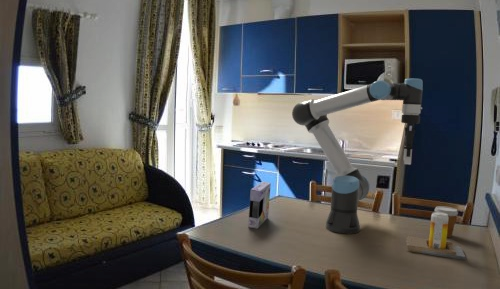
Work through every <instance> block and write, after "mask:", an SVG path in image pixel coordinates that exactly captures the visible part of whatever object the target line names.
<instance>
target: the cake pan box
mask: <svg viewBox="0 0 500 289" xmlns="http://www.w3.org/2000/svg"><path fill="white" fill-rule="evenodd" d="M271 183H272V182H271ZM271 183H270V182H268V181H267V182H266V181H261V182H260V183H259V184H256V185H255V186H254V187H252V188H251V189H250V193H249V194H250V196H249V208H248V210H249V211H248V225H247V226H248V228H251V229H256V230H257V229H259V227H260V226H262V225H263V224H264V222H265V221H267V219H268V218H269V210H270V207H269V206H270V197H271V196H270V195H271Z"/></svg>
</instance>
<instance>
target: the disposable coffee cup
mask: <svg viewBox="0 0 500 289" xmlns="http://www.w3.org/2000/svg"><path fill="white" fill-rule="evenodd" d="M433 212H442V213H446V214H448V217H449V219H448V230H447V238H452V237H453V232H454V228H455V225H456V220H457V216H458V215H459V212H458V209H457V208H455V207H450V206H446V205H445V206H444V205H442V206H441V205H440V206H439V205H438V206H435V208H434V211H433Z"/></svg>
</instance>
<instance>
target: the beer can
mask: <svg viewBox="0 0 500 289" xmlns="http://www.w3.org/2000/svg"><path fill="white" fill-rule="evenodd" d="M448 219H449V217H448V214H446V213H442V212H435V211H433V212H432V213H431V216H430V225H429V236H428V237H429V238H428V239H429V247H435V248H442V249H446V242H447V241H448V240H447V238H448V237H447V230H448Z"/></svg>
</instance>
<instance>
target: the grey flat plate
mask: <svg viewBox="0 0 500 289" xmlns="http://www.w3.org/2000/svg"><path fill="white" fill-rule="evenodd" d="M427 245H428V246H429V244H428V243H427ZM453 246H454V249H455V251H456V255H450V254H443V253H437V252H431V251H424V250H422V253H421V254H425V255H431V256H438V257H443V258H451V259H456V260H457V259H458V260H463V261H466V255H465V253H464V250H463V249H462V247H461V246H456V245H453ZM446 249H448V248H447V246H446Z"/></svg>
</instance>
